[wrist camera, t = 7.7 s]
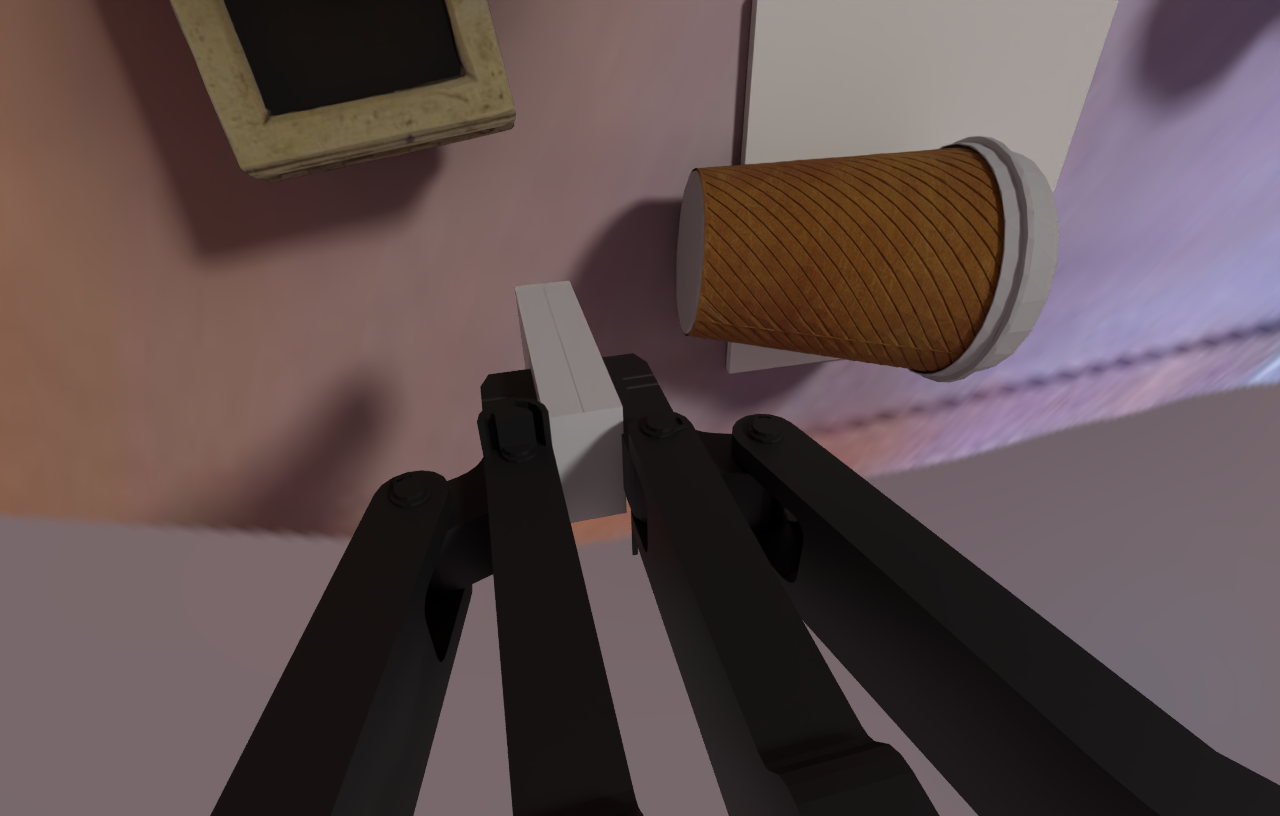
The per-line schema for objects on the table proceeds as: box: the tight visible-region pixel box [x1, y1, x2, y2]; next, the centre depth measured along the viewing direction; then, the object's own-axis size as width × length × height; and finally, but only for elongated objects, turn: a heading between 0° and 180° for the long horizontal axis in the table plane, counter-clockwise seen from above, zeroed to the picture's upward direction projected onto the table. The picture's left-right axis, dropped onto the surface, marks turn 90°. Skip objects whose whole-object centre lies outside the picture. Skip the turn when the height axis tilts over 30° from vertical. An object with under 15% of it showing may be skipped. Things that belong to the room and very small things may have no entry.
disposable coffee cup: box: [677, 136, 1059, 382], centre depth 25 cm, size 10×10×12 cm
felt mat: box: [726, 0, 1119, 374], centre depth 29 cm, size 16×16×1 cm
